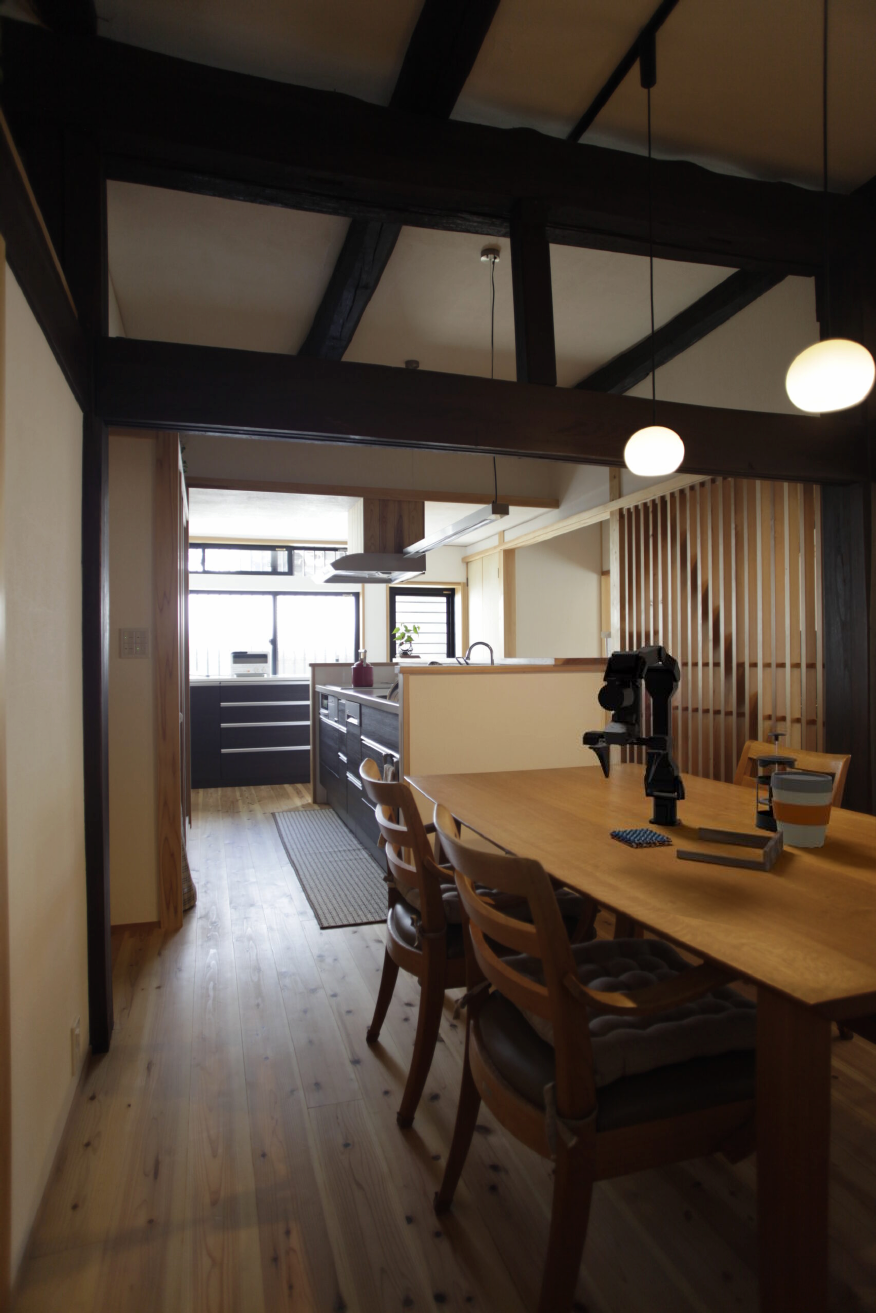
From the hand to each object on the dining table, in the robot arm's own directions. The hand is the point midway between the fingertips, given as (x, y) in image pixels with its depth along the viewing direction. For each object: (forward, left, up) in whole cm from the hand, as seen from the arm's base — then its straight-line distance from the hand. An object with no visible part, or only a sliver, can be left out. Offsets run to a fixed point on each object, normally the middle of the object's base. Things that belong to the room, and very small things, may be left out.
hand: (627, 780), depth 158 cm
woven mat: (-7, +1, -15) cm, 17 cm away
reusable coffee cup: (-25, +31, -15) cm, 43 cm away
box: (-7, +19, -14) cm, 25 cm away
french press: (-38, +24, -15) cm, 47 cm away
